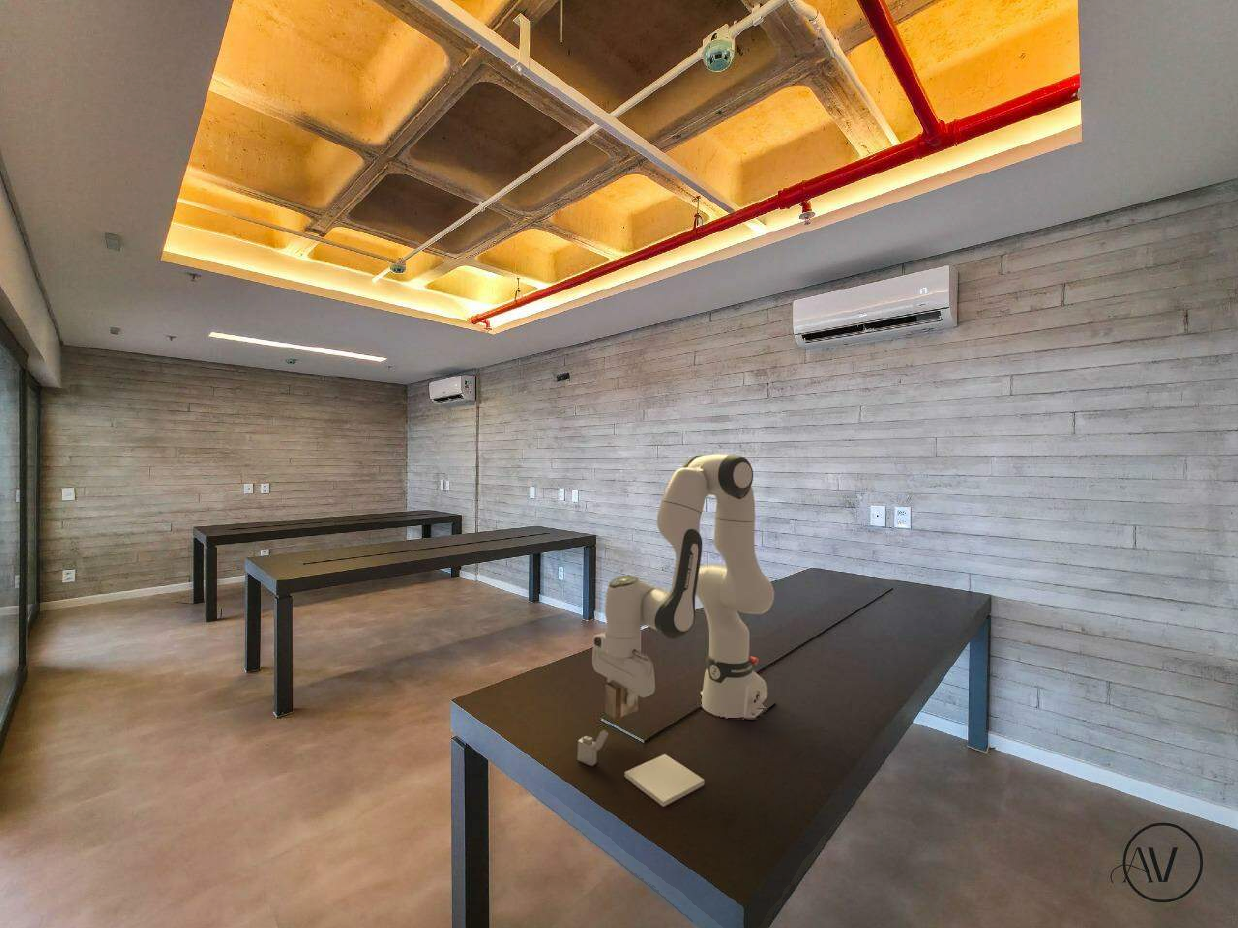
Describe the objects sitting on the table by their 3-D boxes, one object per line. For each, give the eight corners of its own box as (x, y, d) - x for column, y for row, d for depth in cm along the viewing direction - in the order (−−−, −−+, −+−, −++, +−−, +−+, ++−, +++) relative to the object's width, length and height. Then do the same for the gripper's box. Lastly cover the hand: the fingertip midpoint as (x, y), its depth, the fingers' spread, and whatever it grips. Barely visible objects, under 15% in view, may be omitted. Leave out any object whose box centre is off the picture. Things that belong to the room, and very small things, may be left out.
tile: (664, 758, 117) (664, 753, 117) (704, 784, 107) (704, 779, 107) (624, 776, 109) (624, 771, 109) (663, 806, 100) (663, 801, 100)
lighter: (577, 759, 115) (578, 724, 115) (581, 756, 116) (582, 721, 116) (603, 770, 111) (604, 733, 111) (607, 766, 113) (608, 730, 113)
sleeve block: (626, 704, 128) (627, 676, 128) (637, 710, 125) (638, 682, 124) (604, 712, 123) (605, 683, 123) (615, 719, 120) (616, 689, 120)
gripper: (661, 654, 118) (660, 713, 118) (607, 630, 134) (606, 682, 134) (641, 660, 114) (640, 722, 114) (588, 635, 130) (587, 689, 130)
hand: (621, 700), depth 124 cm, fingers closed on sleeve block, 4 cm apart
